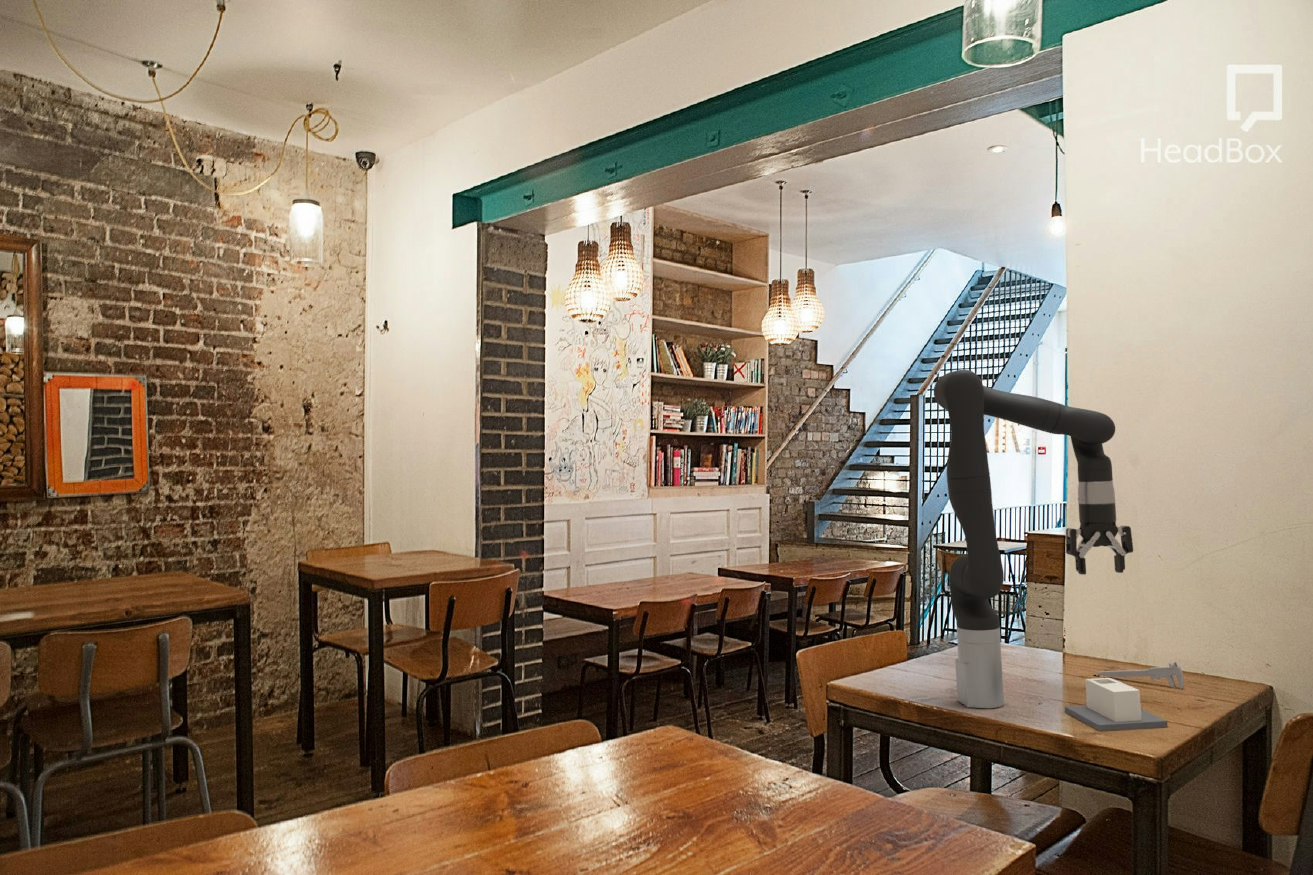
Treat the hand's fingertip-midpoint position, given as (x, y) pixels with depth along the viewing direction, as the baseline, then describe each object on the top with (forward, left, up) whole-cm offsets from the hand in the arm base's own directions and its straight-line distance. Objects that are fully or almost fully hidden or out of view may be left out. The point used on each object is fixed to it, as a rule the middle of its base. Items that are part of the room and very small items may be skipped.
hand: (1100, 573), depth 204 cm
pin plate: (-7, -15, -28) cm, 33 cm away
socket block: (-7, -15, -27) cm, 32 cm away
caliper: (+14, +12, -29) cm, 34 cm away
